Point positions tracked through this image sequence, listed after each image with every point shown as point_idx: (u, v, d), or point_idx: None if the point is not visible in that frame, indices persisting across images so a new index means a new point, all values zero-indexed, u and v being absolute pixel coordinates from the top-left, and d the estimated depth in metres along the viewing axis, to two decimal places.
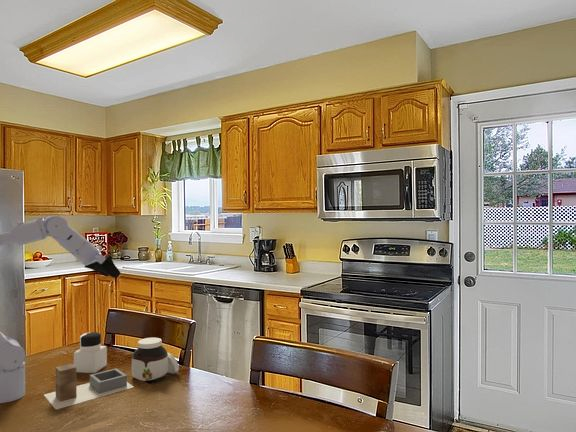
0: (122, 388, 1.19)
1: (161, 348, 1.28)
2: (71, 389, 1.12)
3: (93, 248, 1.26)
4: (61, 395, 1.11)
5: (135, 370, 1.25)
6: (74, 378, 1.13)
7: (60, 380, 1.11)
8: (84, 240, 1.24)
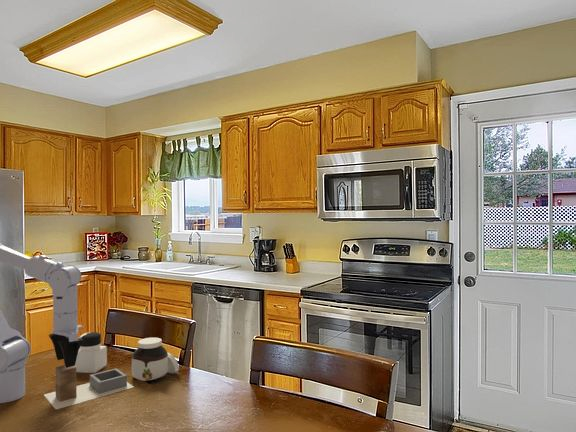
0: (122, 388, 1.19)
1: (161, 348, 1.27)
2: (71, 389, 1.12)
3: (75, 323, 1.13)
4: (61, 395, 1.11)
5: (135, 370, 1.25)
6: (74, 378, 1.13)
7: (60, 380, 1.11)
8: (68, 311, 1.11)
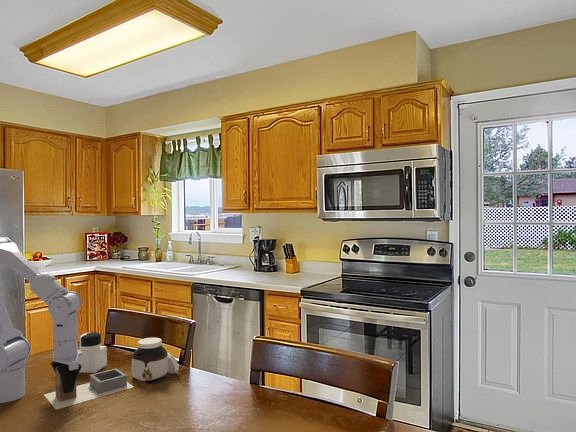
0: (122, 388, 1.19)
1: (161, 348, 1.28)
2: None
3: (75, 350, 1.13)
4: (61, 395, 1.11)
5: (135, 370, 1.25)
6: None
7: (60, 380, 1.11)
8: (69, 339, 1.11)
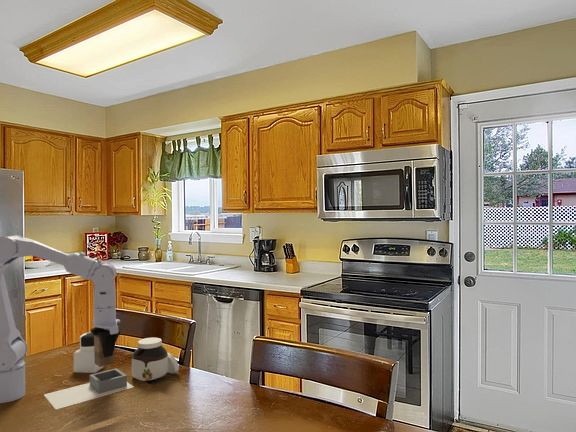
0: (122, 388, 1.19)
1: (161, 348, 1.28)
2: None
3: (114, 317, 1.20)
4: (100, 361, 1.17)
5: (135, 370, 1.25)
6: None
7: (99, 347, 1.17)
8: (111, 305, 1.19)
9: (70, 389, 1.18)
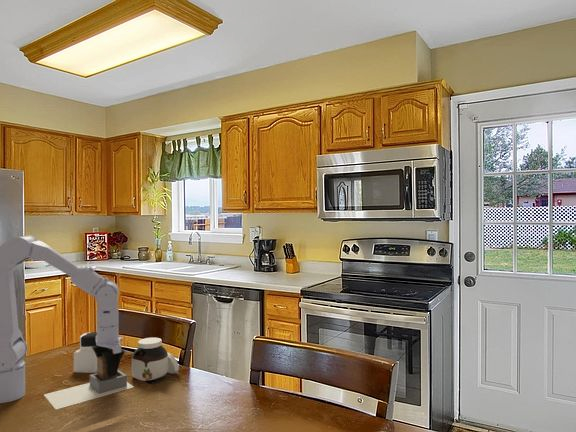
0: (122, 388, 1.19)
1: (161, 348, 1.28)
2: None
3: (117, 335, 1.20)
4: None
5: (135, 370, 1.25)
6: None
7: (102, 369, 1.18)
8: (114, 324, 1.19)
9: (70, 389, 1.18)
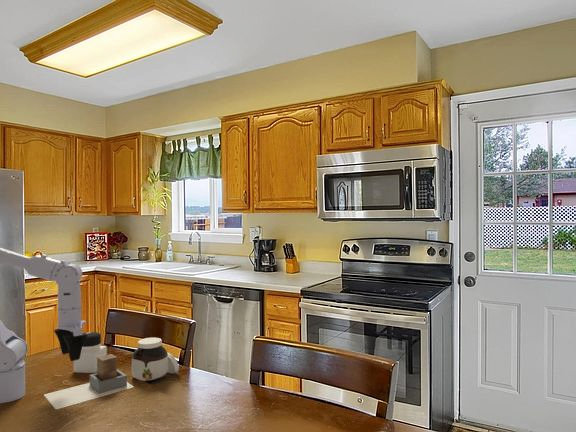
0: (122, 388, 1.19)
1: (161, 348, 1.28)
2: None
3: (79, 318, 1.17)
4: None
5: (135, 370, 1.25)
6: (115, 367, 1.20)
7: (102, 369, 1.18)
8: (76, 306, 1.16)
9: (70, 389, 1.18)
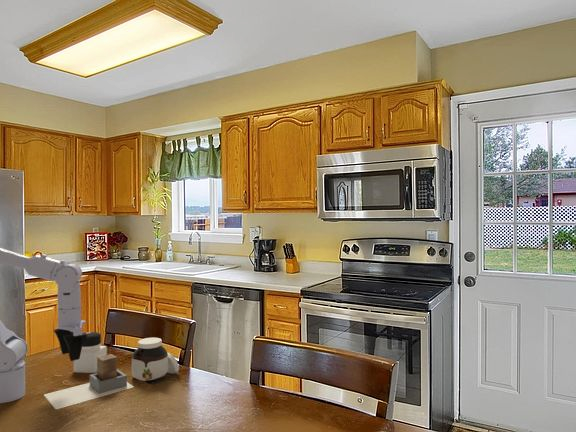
0: (122, 388, 1.19)
1: (161, 348, 1.28)
2: None
3: (79, 318, 1.17)
4: None
5: (135, 370, 1.25)
6: (115, 367, 1.20)
7: (102, 369, 1.18)
8: (75, 306, 1.16)
9: (70, 389, 1.18)
